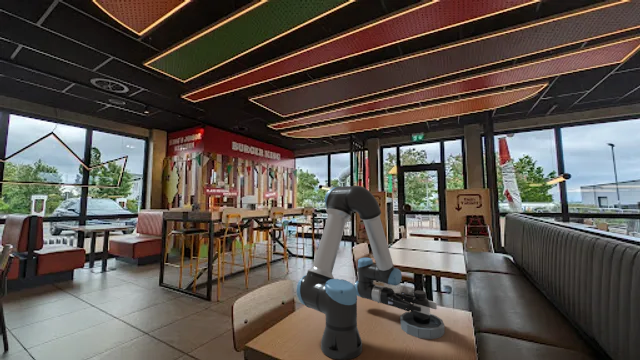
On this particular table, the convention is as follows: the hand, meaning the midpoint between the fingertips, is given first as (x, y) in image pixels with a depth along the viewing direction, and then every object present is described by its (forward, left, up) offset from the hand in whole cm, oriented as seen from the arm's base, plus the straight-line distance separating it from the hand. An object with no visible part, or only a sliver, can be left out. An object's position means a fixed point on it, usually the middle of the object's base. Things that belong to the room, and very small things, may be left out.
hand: (432, 308), depth 109 cm
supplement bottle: (-3, +4, -7) cm, 8 cm away
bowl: (-3, +4, -10) cm, 11 cm away
